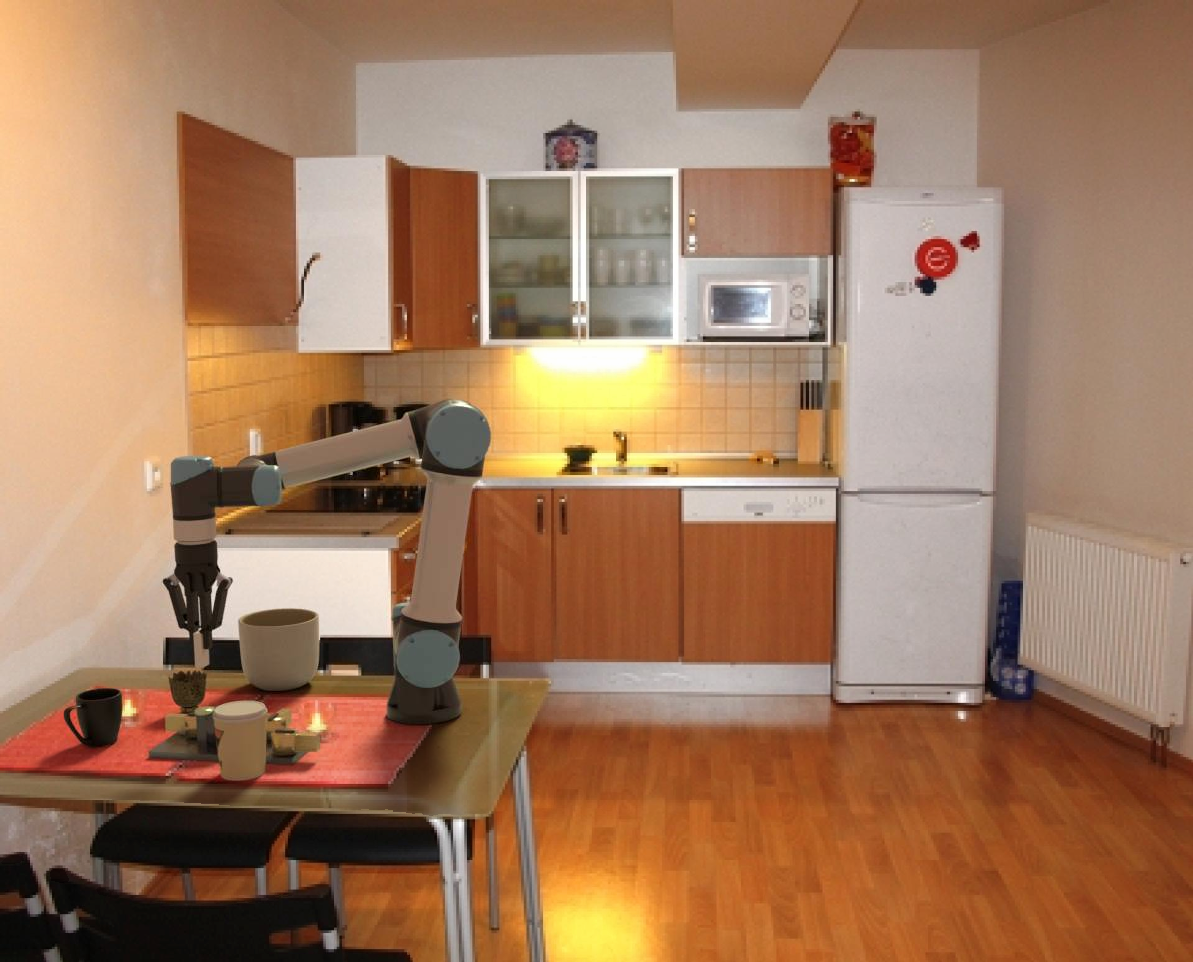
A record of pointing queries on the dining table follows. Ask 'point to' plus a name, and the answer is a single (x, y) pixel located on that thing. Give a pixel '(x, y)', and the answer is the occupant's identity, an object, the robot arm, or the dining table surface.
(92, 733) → the mug
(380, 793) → the dining table surface
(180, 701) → the cup
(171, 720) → the knob
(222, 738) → the coffee cup
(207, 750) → the plate
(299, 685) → the planter
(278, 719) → the knob
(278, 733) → the knob
